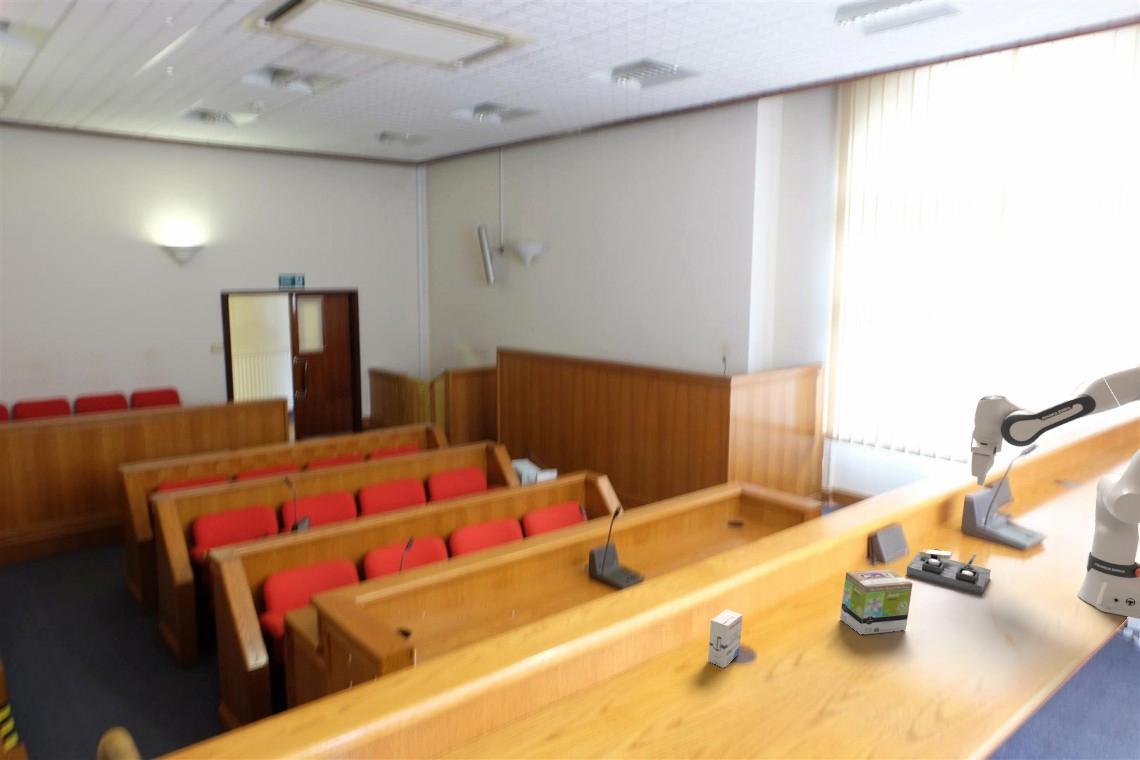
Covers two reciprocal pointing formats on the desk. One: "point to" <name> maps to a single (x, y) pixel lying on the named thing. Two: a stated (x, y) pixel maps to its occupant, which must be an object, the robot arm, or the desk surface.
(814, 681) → the desk surface
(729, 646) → the ink box
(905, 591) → the tea box
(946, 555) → the rocker
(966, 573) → the button
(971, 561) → the toggle lever
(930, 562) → the button
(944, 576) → the panel
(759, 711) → the desk surface
